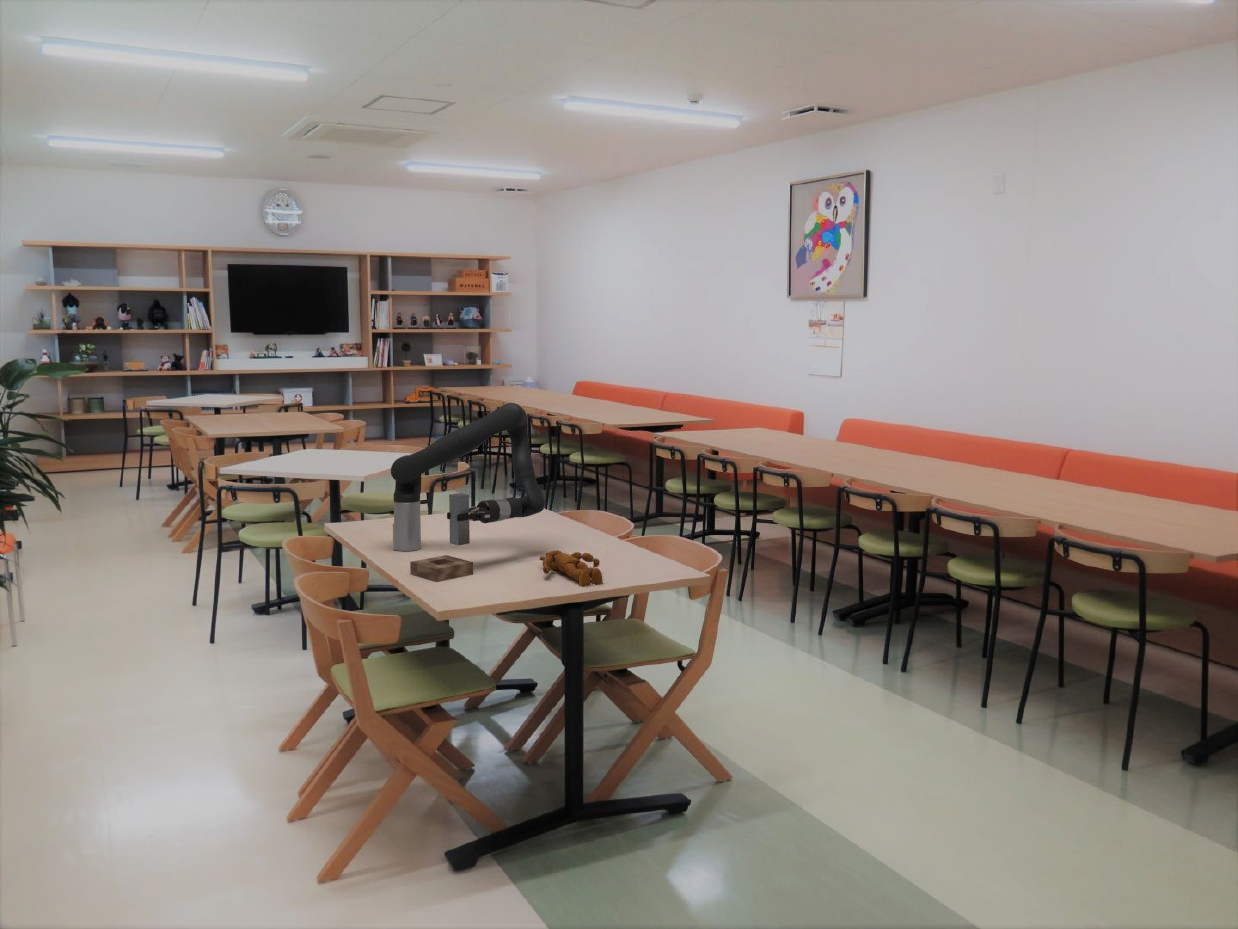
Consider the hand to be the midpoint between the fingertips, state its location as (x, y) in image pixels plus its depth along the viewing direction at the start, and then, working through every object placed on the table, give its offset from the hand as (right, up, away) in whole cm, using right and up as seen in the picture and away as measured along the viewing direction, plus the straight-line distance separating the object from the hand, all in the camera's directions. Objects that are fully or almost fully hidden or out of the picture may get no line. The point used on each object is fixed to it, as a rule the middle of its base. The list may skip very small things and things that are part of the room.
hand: (452, 517), depth 314 cm
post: (+2, -9, +3) cm, 9 cm away
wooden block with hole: (-3, -18, -2) cm, 18 cm away
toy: (+37, -19, -1) cm, 42 cm away
